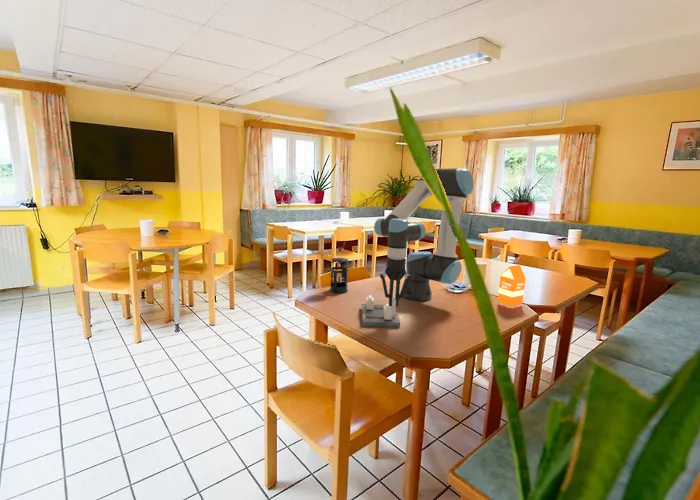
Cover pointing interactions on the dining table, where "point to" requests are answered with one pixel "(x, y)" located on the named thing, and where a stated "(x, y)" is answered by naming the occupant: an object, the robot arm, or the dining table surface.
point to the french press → (338, 286)
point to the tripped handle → (387, 312)
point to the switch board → (378, 317)
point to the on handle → (369, 302)
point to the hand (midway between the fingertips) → (392, 313)
